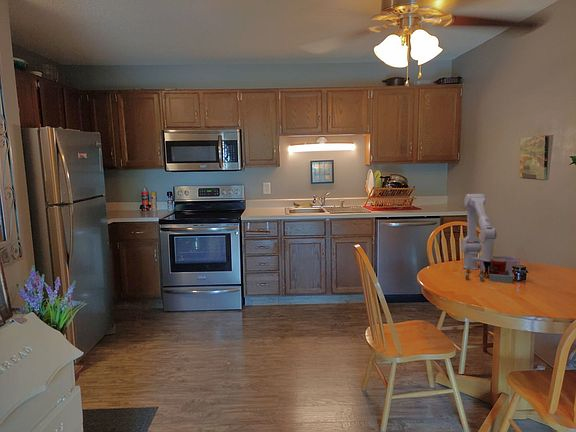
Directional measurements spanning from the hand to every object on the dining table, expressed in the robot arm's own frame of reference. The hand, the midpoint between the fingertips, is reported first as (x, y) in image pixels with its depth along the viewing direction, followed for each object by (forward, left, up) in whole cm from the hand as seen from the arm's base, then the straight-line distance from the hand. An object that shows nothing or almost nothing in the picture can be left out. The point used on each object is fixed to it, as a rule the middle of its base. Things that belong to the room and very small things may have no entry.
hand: (486, 275), depth 217 cm
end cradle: (0, +6, -1) cm, 6 cm away
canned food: (+1, +5, -1) cm, 5 cm away
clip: (-21, +7, -2) cm, 22 cm away
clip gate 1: (0, -9, -1) cm, 9 cm away
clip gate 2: (0, -2, -1) cm, 3 cm away
